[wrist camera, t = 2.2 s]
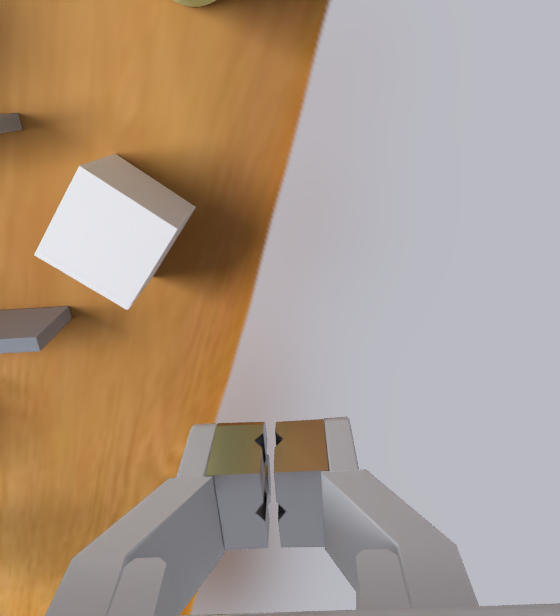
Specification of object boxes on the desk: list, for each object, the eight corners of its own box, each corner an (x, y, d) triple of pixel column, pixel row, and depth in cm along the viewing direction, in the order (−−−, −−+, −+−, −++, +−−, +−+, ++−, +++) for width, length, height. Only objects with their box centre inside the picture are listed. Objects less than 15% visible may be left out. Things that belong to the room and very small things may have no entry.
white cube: (196, 206, 33) (178, 229, 27) (153, 276, 35) (128, 310, 29) (115, 153, 31) (79, 165, 26) (75, 228, 33) (33, 255, 28)
